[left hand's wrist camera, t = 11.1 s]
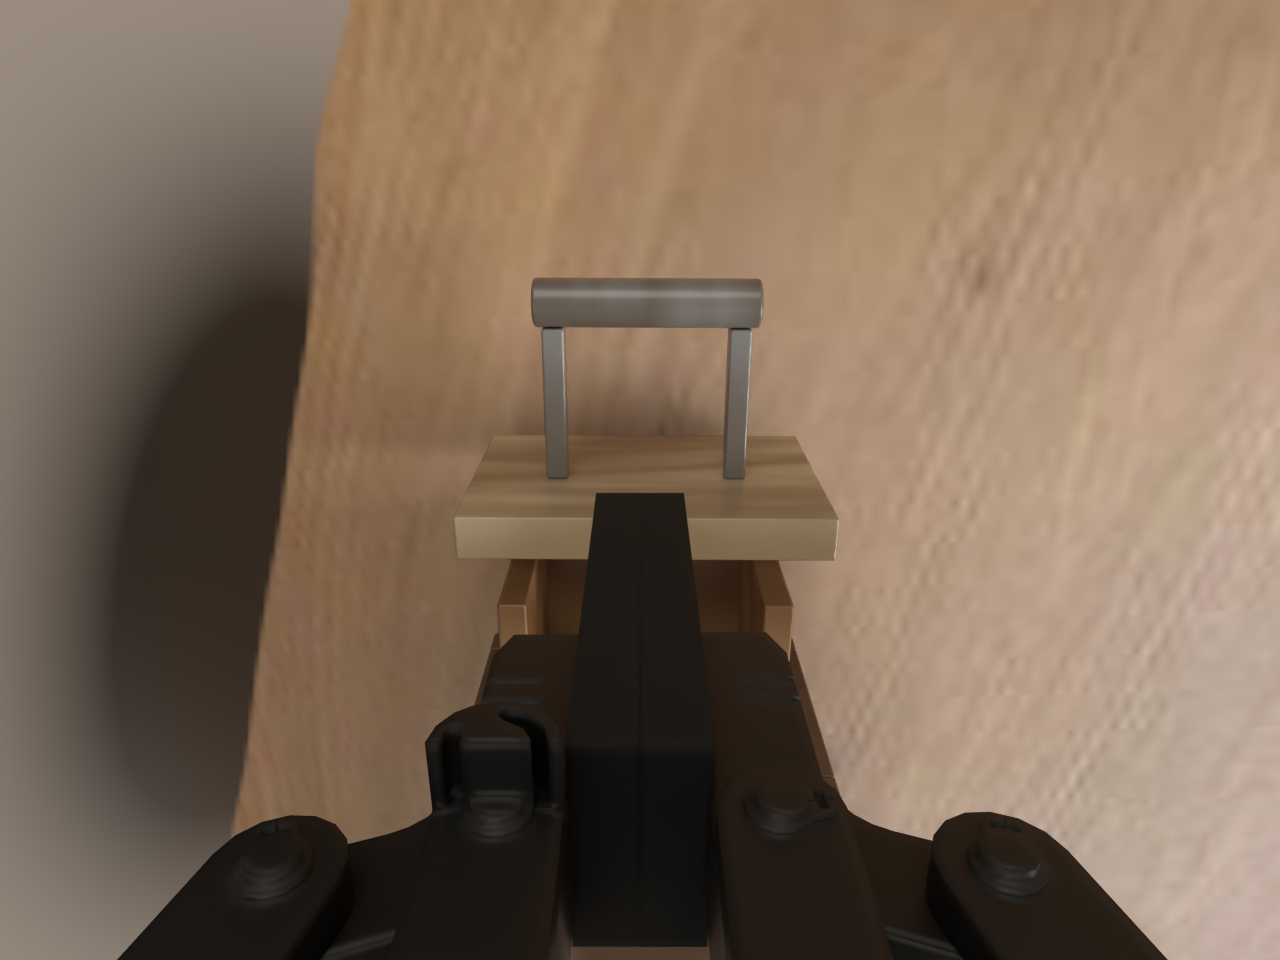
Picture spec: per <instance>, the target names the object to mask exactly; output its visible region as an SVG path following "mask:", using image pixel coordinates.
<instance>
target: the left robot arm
mask: <svg viewBox="0 0 1280 960" xmlns="http://www.w3.org/2000/svg"><path fill="white" fill-rule="evenodd" d="M425 748H426V756H427V765H428V774H429V783H430V791H431V800H432V809H433V810H432V813H431V815H429V816H428V817H427V818H425V819H423V820H421V821H419V822H417V823H416V824H414V825H412V826H410V827H408V828H405V829H402V830H399V831H396V832H393V833H390V834H387V835H383V836H379V837H375V838H371V839H367V840H363V841H359V842H355V843H351V844H348V842H347V838H346V837H345V836H344V834H343V833H342V832H341V831H340V829H339V828H338V827H337V826H336V824H334V823H331V822H329V821H326V820H324V819H321V818H319V817H316V816H294V815H290V816H286V817H281V818H277V819H273V820H269V821H264V822H261V823H259V824H257V825H255V826H253V827H251V828H249V829H247V830H245V831H243V832H241V833H239V834H237V835H235V836H234V837H233V838H232V839H231V840H229V841H228V842H227V843H226V844H225V845H223V846H222V847H221V848H220V849H219V850H217V851H216V852H215V853H214V854H213V855H212V856H211V857H210V858H209V859H208V860H207V861H206V863H205V864H204V865H203V866H202V867H201V868H200V869H199V870H198V871H197V872H196V874H195V875H194V876H193V877H192V878H191V879H190V880H189V881H188V882H187V883H186V885H185V886H184V887H183V888H182V889H181V890H180V891H179V892H178V893H177V894H176V896H175V897H174V898H173V899H172V900H171V901H170V902H169V903H168V904H167V905H166V907H165V908H164V909H163V910H162V911H161V912H160V913H159V914H158V915H157V917H156V918H155V919H154V920H153V921H152V922H151V923H150V924H149V925H148V926H147V928H146V929H145V930H144V931H143V932H142V933H141V934H140V935H139V936H138V937H137V938H136V940H135V941H134V942H133V943H132V944H131V945H130V946H129V947H128V948H127V950H126V951H125V952H124V953H123V954H122V955H121V956H120V957H119V958H118V959H117V960H570V955H571V943H572V946H573V947H707V946H708V939H709V951H710V960H1167V959H1166V957H1165V956H1164V955H1163V954H1162V953H1161V952H1160V951H1159V950H1158V949H1157V948H1156V947H1155V945H1154V944H1153V943H1152V942H1151V941H1150V940H1149V939H1148V938H1147V937H1146V936H1145V934H1144V933H1143V932H1142V931H1141V930H1140V929H1139V928H1138V927H1137V926H1136V925H1135V924H1134V922H1133V921H1132V920H1131V919H1130V918H1129V917H1128V916H1127V915H1126V914H1125V913H1124V912H1123V910H1122V909H1121V908H1120V907H1119V906H1118V905H1117V904H1116V903H1115V902H1114V901H1113V900H1112V898H1111V897H1110V896H1109V895H1108V894H1107V893H1106V892H1105V891H1104V890H1103V889H1102V887H1101V886H1100V885H1099V884H1098V883H1097V882H1096V881H1095V880H1094V879H1093V878H1092V877H1091V875H1090V874H1089V873H1088V872H1087V871H1086V870H1085V869H1084V868H1083V867H1082V866H1081V865H1080V863H1079V862H1078V861H1077V860H1076V859H1075V858H1074V857H1073V856H1072V855H1071V854H1070V852H1069V851H1068V850H1067V849H1065V848H1064V847H1063V846H1062V845H1061V844H1059V843H1058V842H1057V841H1056V840H1055V839H1053V838H1052V837H1051V836H1050V835H1049V834H1047V833H1046V832H1045V831H1043V830H1041V829H1039V828H1037V827H1035V826H1033V825H1030V824H1028V823H1026V822H1024V821H1022V820H1020V819H1018V818H1014V817H1010V816H1006V815H1001V814H997V813H993V812H972V813H963V814H961V815H958V816H956V817H953V818H951V819H948V820H946V821H945V822H944V823H943V824H942V825H941V827H940V828H939V829H938V830H937V832H936V833H935V834H934V836H933V841H931V840H927V839H923V838H919V837H915V836H911V835H907V834H903V833H899V832H895V831H891V830H888V829H885V828H882V827H879V826H876V825H873V824H871V823H869V822H867V821H865V820H863V819H861V818H860V817H858V816H856V815H854V814H853V813H851V812H850V811H849V810H848V809H847V807H846V805H845V803H844V802H843V800H842V798H841V797H840V795H839V793H838V791H837V790H836V789H834V788H833V787H832V786H831V785H829V784H828V783H827V782H826V781H824V780H823V778H822V775H821V771H820V768H819V764H818V761H817V757H816V754H815V750H814V747H813V743H812V740H811V736H810V733H809V729H808V726H807V722H806V719H805V715H804V712H803V708H802V705H801V702H799V694H798V691H797V687H796V684H795V681H794V679H793V673H792V670H791V666H790V663H789V659H788V656H787V653H786V652H785V651H784V650H783V649H782V648H781V647H780V646H779V645H778V644H777V643H776V642H775V641H774V640H773V639H772V638H771V637H770V636H769V635H768V634H767V633H766V632H701V626H700V618H699V610H698V602H697V594H696V586H695V578H694V570H693V562H692V554H691V546H690V538H689V530H688V522H687V514H686V506H685V498H684V493H596V498H595V506H594V514H593V522H592V530H591V538H590V546H589V554H588V562H587V570H586V578H585V586H584V594H583V602H582V610H581V618H580V626H579V634H578V635H513V636H512V637H511V638H510V639H509V640H508V641H507V642H506V643H505V644H504V645H503V646H502V647H501V648H500V649H499V650H498V651H497V652H496V653H495V654H494V656H493V659H492V663H491V666H490V670H489V673H488V677H487V684H485V687H484V691H483V694H482V698H481V704H477V705H474V706H471V707H469V708H466V709H463V710H460V711H458V712H455V713H453V714H452V715H451V716H449V717H448V718H446V719H445V720H444V721H442V722H441V723H439V724H438V725H437V726H436V727H435V728H434V730H433V731H432V733H431V734H430V736H429V737H428V739H427V740H426V742H425Z"/></svg>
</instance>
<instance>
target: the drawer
mask: <svg viewBox="0 0 1280 960" xmlns="http://www.w3.org/2000/svg"><path fill="white" fill-rule="evenodd" d="M763 302H764V295H763V285H762V282H761V280H760V279H697V278H534V279H533V282H532V287H531V313H532V320H533V324H534V326H536V327H543V328H542V331H541V338H542V365H543V391H544V418H545V435H494V437H493V439H492V441H491V443H490V445H489V447H488V449H487V451H486V453H485V455H484V457H483V459H482V461H481V463H480V465H479V467H478V469H477V471H476V473H475V475H474V477H473V479H472V481H471V483H470V485H469V487H468V489H467V491H466V493H465V495H464V498H463V500H462V502H461V504H460V506H459V508H458V510H457V512H456V514H455V516H454V518H453V522H454V534H455V546H456V557H457V558H458V559H512V560H511V563H510V566H509V570H508V573H507V576H506V579H505V583H504V586H503V589H502V592H501V596H500V599H499V602H498V605H497V611H498V627H499V642H500V648H501V647H502V646H503V645H504V644H505V643H506V642H507V641H508V640H509V639H510V638H511V637H512V636H513V635H578V634H579V626H580V618H581V610H582V602H583V594H584V586H585V578H586V570H587V562H588V554H589V546H590V538H591V530H592V522H593V514H594V506H595V498H596V493H684V498H685V506H686V514H687V522H688V530H689V538H690V546H691V554H692V562H693V570H694V578H695V586H696V594H697V602H698V610H699V618H700V626H701V632H766V633H767V634H768V635H769V636H770V637H771V638H772V639H773V640H774V641H775V642H776V643H777V644H778V645H779V646H780V647H781V648H782V649H783V650H784V651H785V652H786V653H787V656H788V659H789V661H790V649H791V637H792V625H793V613H794V606H793V603H792V600H791V597H790V594H789V591H788V588H787V585H786V582H785V579H784V576H783V573H782V570H781V567H780V564H779V561H778V560H835V558H836V548H837V538H838V528H839V518H838V517H837V515H836V513H835V511H834V509H833V507H832V505H831V503H830V501H829V499H828V497H827V496H826V494H825V492H824V490H823V488H822V486H821V484H820V482H819V480H818V478H817V477H816V475H815V473H814V471H813V469H812V467H811V465H810V463H809V461H808V459H807V458H806V456H805V454H804V452H803V450H802V448H801V446H800V444H799V442H798V440H797V439H796V437H795V436H747V425H748V407H749V388H750V370H751V351H752V333H753V332H752V330H751V328H758V327H760V325H761V322H762V316H763ZM565 327H617V328H728V346H727V369H726V392H725V416H724V436H647V435H568V410H567V373H566V336H565Z"/></svg>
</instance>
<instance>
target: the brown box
mask: <svg viewBox="0 0 1280 960" xmlns="http://www.w3.org/2000/svg"><path fill="white" fill-rule="evenodd" d="M499 649H500V642H499V634H495V636H494V639H493V643H492V646H491V650H490V653H489V657H488V660H487V664H486V667H485V671H484V674H483V677H482V681H481V684H480V688H479V691H478V694H477V698H476V701H475V705H477V704H481V698H482V694H483V691H484V687H485V684H487V677H488V673H489V670H490V666H491V663H492V659H493V656H494V654H495V653H496V652H497V651H498V650H499ZM789 663H790V666H791V670H792V673H793V679H794V681H795V684H796V687H797V691H798V694H799V702H801V705H802V708H803V712H804V715H805V719H806V722H807V726H808V729H809V733H810V736H811V740H812V743H813V747H814V750H815V754H816V757H817V761H818V764H819V768H820V771H821V775H822V778H823V780H824V781H826V782H827V783H828V784H829V785H831V786H832V787H833V788H834V789H836V790H837V791H838V793H839V790H838V787H837V784H836V780H835V778H834V774H833V770H832V767H831V764H830V761H829V757H828V754H827V751H826V748H825V744H824V741H823V738H822V734H821V731H820V728H819V725H818V721H817V718H816V715H815V712H814V708H813V705H812V702H811V699H810V695H809V692H808V689H807V685H806V682H805V679H804V676H803V672H802V669H801V666H800V663H799V659H798V656H797V653H796V649H795V646H794V642H793V639H792V637H791V649H790V661H789ZM839 795H840V793H839ZM570 960H710V951H709V939H708V946H707V947H573V946H572V943H571V955H570Z"/></svg>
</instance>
